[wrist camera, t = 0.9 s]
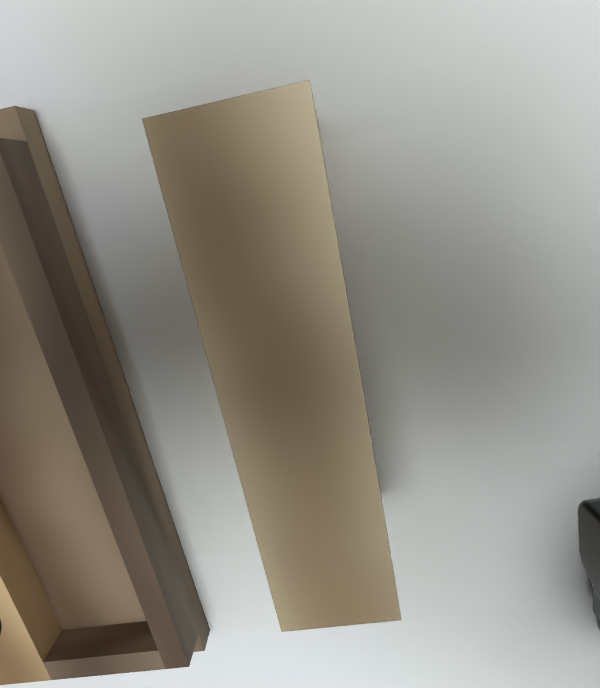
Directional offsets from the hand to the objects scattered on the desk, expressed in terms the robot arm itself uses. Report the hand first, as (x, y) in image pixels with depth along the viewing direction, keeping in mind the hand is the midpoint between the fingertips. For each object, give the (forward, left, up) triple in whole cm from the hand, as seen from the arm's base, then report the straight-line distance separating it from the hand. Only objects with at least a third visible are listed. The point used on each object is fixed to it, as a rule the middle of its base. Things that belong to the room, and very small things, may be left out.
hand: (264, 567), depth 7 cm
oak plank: (0, 0, -11) cm, 11 cm away
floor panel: (+12, +2, -11) cm, 16 cm away
